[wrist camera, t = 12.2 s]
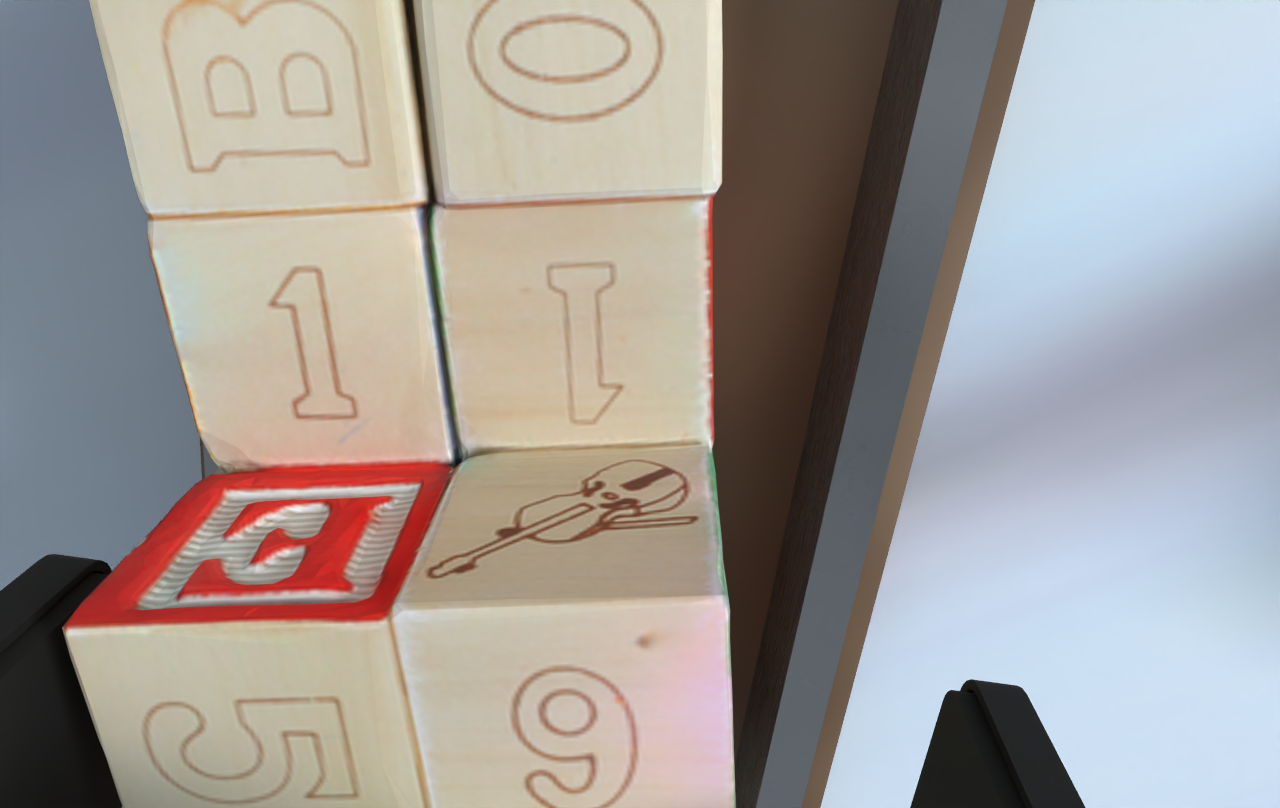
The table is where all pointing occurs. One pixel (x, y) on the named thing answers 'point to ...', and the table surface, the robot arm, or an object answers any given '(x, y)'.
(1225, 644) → the table surface
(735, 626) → the track
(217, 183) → the stack of blocks
